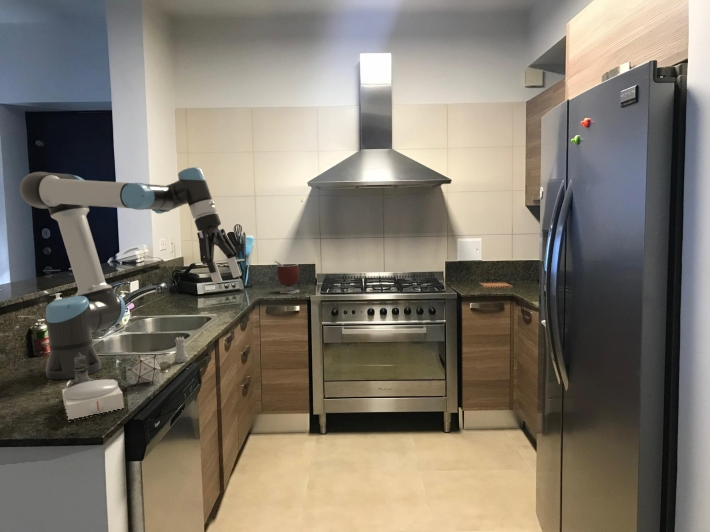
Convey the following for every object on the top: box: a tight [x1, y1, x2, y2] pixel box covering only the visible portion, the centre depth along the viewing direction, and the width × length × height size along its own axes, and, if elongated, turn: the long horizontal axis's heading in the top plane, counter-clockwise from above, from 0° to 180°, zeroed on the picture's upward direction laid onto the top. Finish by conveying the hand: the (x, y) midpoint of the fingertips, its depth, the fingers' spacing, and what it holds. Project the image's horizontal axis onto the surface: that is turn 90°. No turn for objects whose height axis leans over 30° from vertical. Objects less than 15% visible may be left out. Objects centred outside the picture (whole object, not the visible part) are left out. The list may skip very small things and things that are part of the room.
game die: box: [126, 354, 165, 386], centre depth 140 cm, size 9×8×10 cm
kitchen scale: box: [62, 378, 125, 421], centre depth 123 cm, size 14×12×5 cm
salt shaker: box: [69, 352, 95, 387], centre depth 132 cm, size 6×6×12 cm
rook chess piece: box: [174, 336, 189, 364], centre depth 161 cm, size 4×4×8 cm
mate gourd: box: [274, 260, 301, 294], centre depth 306 cm, size 16×14×20 cm
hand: (228, 279), depth 155 cm, fingers open, 13 cm apart
